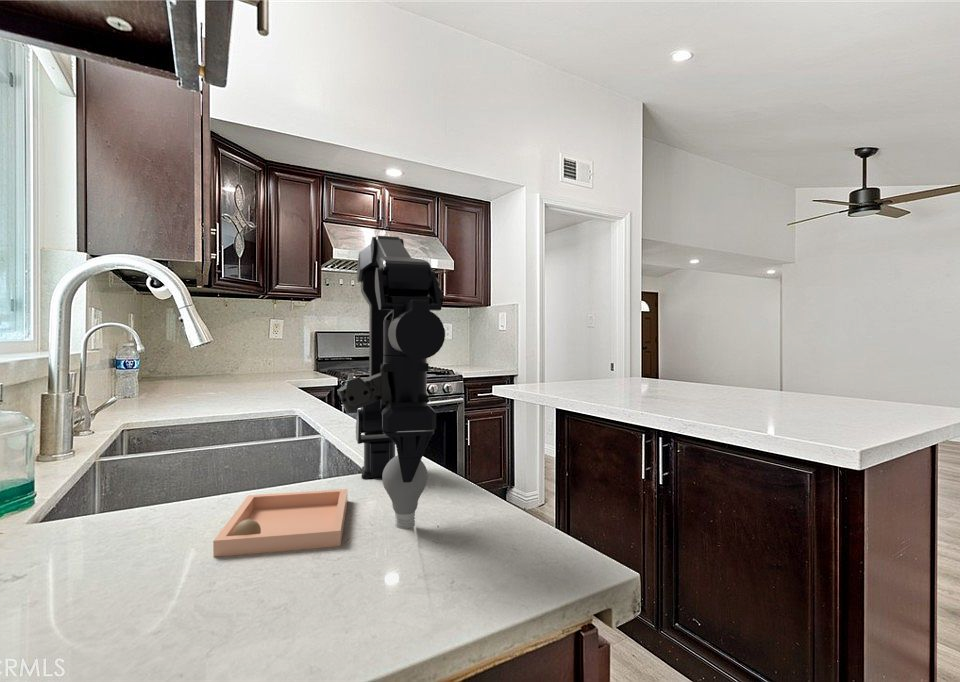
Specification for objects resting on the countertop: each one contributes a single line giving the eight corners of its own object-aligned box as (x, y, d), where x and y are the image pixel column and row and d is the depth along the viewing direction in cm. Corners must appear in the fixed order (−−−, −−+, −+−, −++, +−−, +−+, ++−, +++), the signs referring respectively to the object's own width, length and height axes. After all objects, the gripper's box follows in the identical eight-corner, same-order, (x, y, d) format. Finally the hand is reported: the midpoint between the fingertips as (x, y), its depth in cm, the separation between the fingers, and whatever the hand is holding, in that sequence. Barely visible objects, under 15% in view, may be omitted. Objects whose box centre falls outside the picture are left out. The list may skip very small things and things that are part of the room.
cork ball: (237, 540, 60) (237, 516, 60) (263, 538, 61) (263, 514, 61) (230, 551, 57) (230, 525, 57) (257, 549, 58) (257, 523, 58)
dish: (248, 511, 72) (248, 495, 72) (347, 504, 75) (347, 488, 75) (213, 561, 56) (213, 540, 56) (340, 550, 59) (340, 530, 59)
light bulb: (396, 542, 61) (396, 462, 61) (374, 527, 66) (374, 453, 66) (436, 530, 65) (436, 455, 65) (412, 516, 70) (412, 447, 70)
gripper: (346, 352, 73) (346, 457, 73) (337, 359, 54) (337, 499, 55) (421, 351, 75) (421, 453, 75) (437, 358, 57) (436, 492, 57)
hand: (405, 471), depth 66 cm, fingers open, 9 cm apart
